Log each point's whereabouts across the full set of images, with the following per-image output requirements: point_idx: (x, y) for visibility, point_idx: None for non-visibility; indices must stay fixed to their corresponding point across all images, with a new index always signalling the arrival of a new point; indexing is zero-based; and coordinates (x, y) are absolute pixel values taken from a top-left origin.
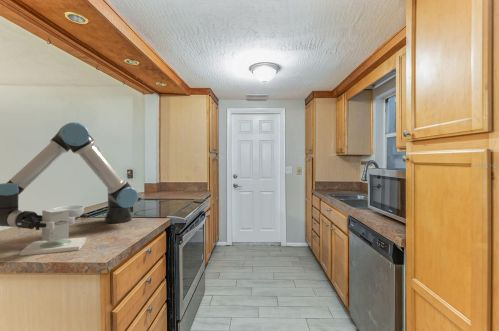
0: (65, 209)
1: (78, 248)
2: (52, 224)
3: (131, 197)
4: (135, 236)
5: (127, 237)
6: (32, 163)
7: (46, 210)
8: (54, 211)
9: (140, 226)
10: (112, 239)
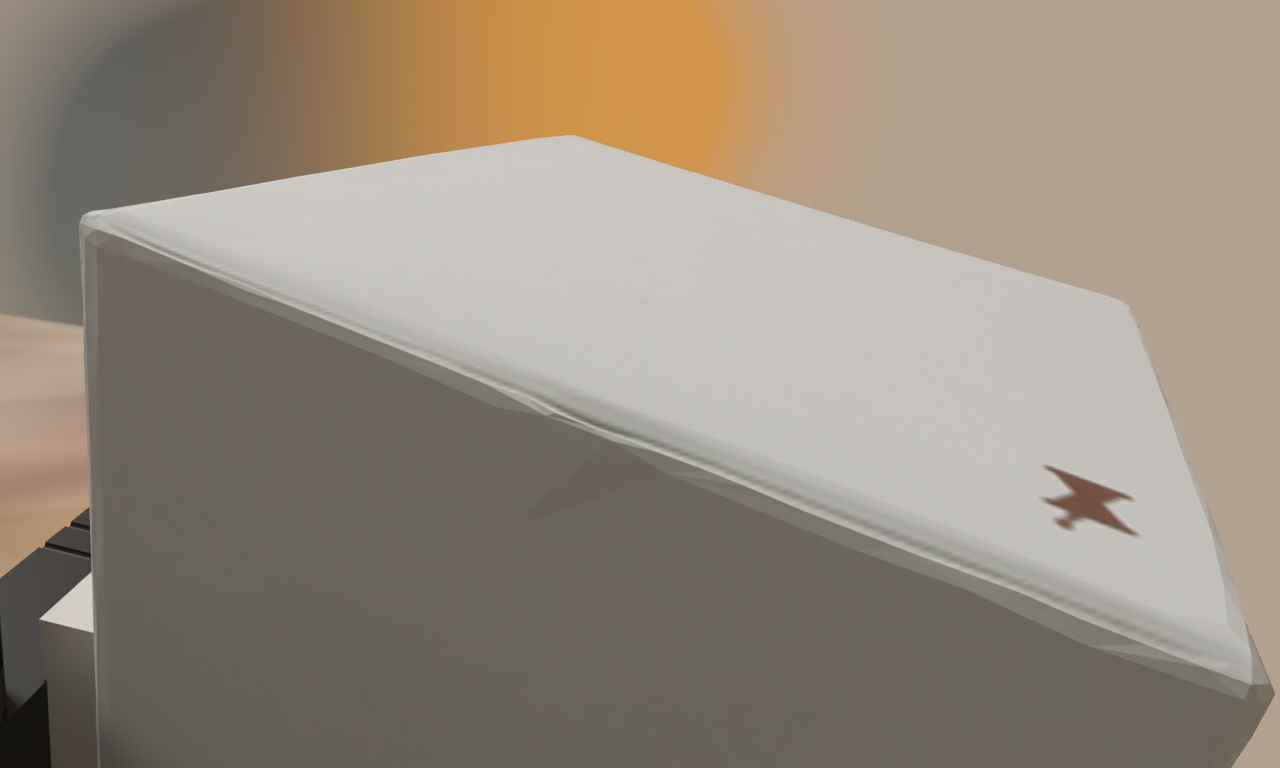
0: (555, 152)
1: None
2: None
3: None
4: (14, 358)
5: (31, 403)
6: None
7: (1093, 439)
8: (978, 259)
9: None
10: (77, 504)
